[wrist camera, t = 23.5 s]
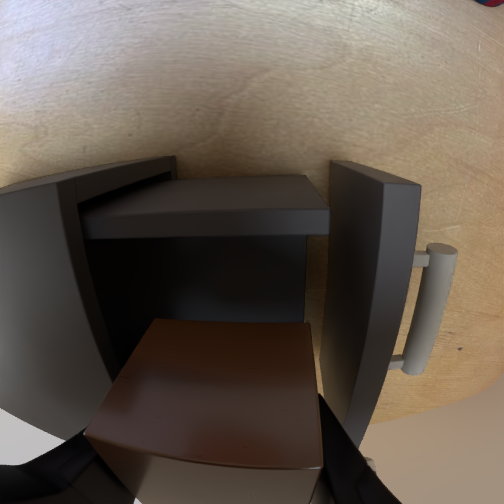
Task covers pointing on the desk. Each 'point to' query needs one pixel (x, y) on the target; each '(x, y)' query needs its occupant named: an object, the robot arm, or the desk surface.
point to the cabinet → (57, 297)
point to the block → (215, 415)
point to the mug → (491, 2)
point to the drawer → (274, 267)
